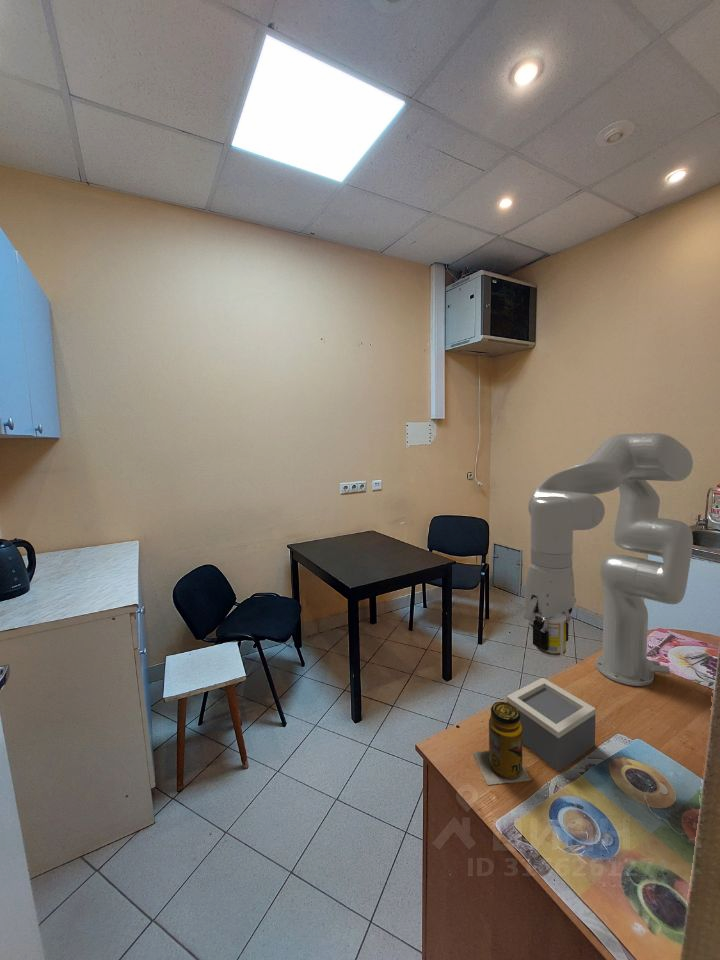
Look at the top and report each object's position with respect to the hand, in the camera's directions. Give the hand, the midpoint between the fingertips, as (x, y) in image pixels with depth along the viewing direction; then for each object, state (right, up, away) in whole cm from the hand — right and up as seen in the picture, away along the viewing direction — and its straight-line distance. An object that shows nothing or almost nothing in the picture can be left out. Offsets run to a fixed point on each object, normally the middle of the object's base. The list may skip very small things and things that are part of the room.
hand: (550, 642), depth 78 cm
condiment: (-12, -23, -4) cm, 26 cm away
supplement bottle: (0, -2, 0) cm, 2 cm away
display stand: (+1, -21, +2) cm, 21 cm away
